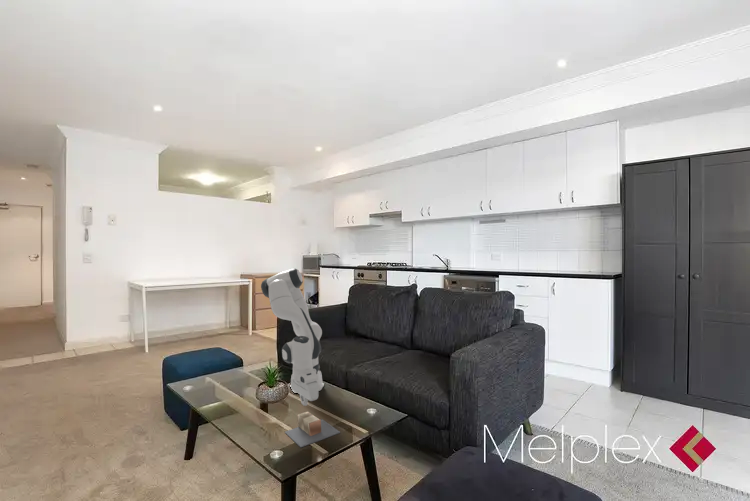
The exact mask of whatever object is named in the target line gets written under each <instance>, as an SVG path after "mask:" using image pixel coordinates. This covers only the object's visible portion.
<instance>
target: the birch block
mask: <svg viewBox="0 0 750 501" xmlns="http://www.w3.org/2000/svg"><path fill="white" fill-rule="evenodd" d="M297 427H300V428H301V429H302V430H303V431H305V432H306V433H307V434H309V435H310V436H312V435H315V434H318V433H320V432H321V419H319V418H318V417H317V416H315V415H314V414H312V412H309V411H304V412H302V413H298V414H297Z"/></svg>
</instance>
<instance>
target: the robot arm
mask: <svg viewBox="0 0 750 501" xmlns="http://www.w3.org/2000/svg"><path fill="white" fill-rule="evenodd" d="M303 282H304V280H303V274H302V273H301V271H299V269H297V268H290V269H288V270H283V271H281V272H279V273H277V274H274V275H272V276H270V277H268V278H265V279H264V280H263V281H261V284H260V288H261V292H262V294H263V295H264V297H266V298H268V299H269V303H270V304H269V305H270V308H271V311H272V314H273V315H274V316H275V317H277V318H278V319H281V320H284V321H285V320H286V321H289V322H290V321H291V324H292V328H293V332H294V334H295V335H296V336H295V337H293V339H292V340H291V341H289V342H286V343H284V345H283V346H282V347H281V358H282V361H284V362H285V363H287V364H292V374H291V375H290V376H291V378H290V383H291V385H290V387H291V389H292V390H291V389H290V390H291V391H293V392H294V393H298V394H299V398H300V402H301V405H303V407H307V406H308V405H309V403H308V402H313V401H316V400H318V399H319V391H321V390H323V387H325V386H324V384H325V383H324V382H323V375H322V371H321V370H320V368H321V367H320V363H319V357H320V355H321V352H322V346H321V345H322V344H321V342H320V339H321V337H322V335H323V330H322V328H321V326H320V324H318V323H317V322H315V321H312V319H311V316H310V312H309V306H308V304H307V301H306V299H305V297H304V294H303V293H302V290H301V289H300V288H301V286H302V285H303ZM290 387H289V388H290ZM293 392H292V393H293ZM294 393H293V394H294ZM298 394H297V395H298Z"/></svg>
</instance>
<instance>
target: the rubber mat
mask: <svg viewBox="0 0 750 501" xmlns="http://www.w3.org/2000/svg"><path fill="white" fill-rule="evenodd" d="M320 420H321V432H320V433H318V434H315V435H312V436H310V435H309V434H307V433H306V432H305V431H303V430H302V429H301V428H300V427H298V426H297V427H294V428H291V429H288V430H286V431H284V434H286V436H287V437H289V438H290V439H291V440H292V441H293V442H294V443H295V444H296V445H297V446H298V447H299V448H304V447H306V446H309V445H312V444H314V443H317V442H320V441H323V440H325V439H328V438H330V437H333V436H336V435H339V434H341V431H339V430H338V429H337V428H336V427H334V426H333V425H331V424H330V423H328V422H327V421H326V420H324V419H323V418H321V419H320Z"/></svg>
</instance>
